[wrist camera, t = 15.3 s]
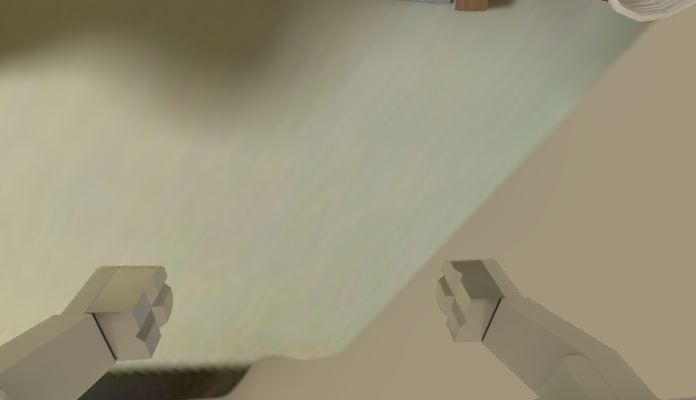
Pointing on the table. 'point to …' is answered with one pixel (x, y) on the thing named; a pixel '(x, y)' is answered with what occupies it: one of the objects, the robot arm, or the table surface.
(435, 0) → the felt mat
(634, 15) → the plastic cup
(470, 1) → the corner walls
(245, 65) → the table surface
